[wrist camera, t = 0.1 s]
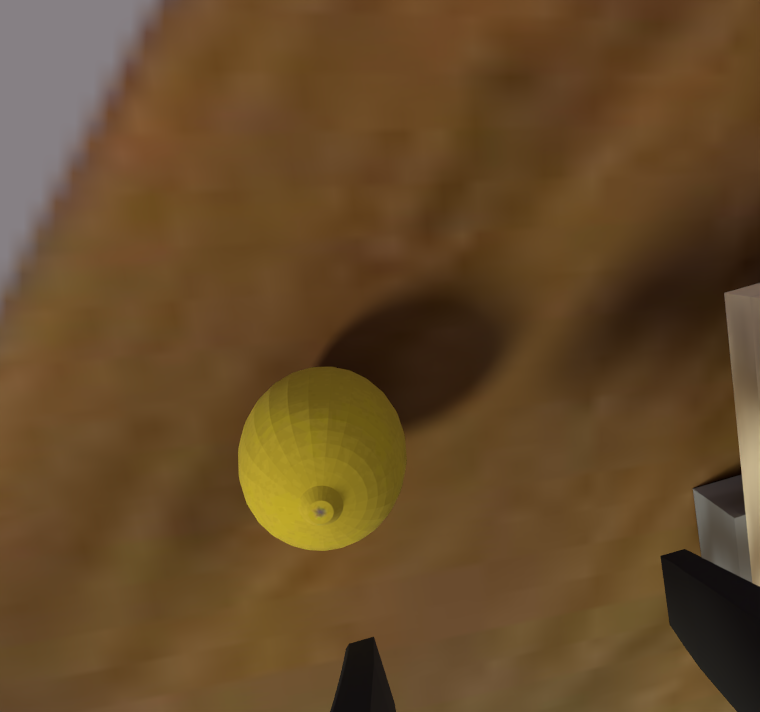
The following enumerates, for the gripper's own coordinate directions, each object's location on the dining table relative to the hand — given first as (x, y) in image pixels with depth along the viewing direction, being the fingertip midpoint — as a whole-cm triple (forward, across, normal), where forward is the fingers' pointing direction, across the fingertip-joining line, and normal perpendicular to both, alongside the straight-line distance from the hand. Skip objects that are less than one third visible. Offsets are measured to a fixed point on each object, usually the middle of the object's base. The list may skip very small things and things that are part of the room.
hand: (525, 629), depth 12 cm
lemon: (+10, +4, -3) cm, 12 cm away
